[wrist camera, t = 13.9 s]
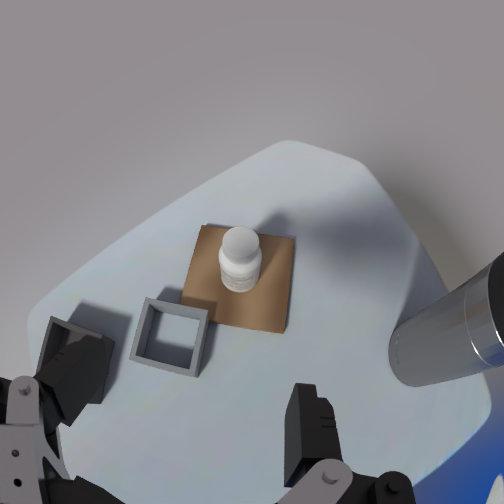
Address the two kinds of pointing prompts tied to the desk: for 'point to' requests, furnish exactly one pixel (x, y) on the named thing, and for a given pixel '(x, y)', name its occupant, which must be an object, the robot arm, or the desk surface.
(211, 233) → the walnut pad
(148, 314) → the sleeve
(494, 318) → the robot arm
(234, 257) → the pill bottle
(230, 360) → the desk surface
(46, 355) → the box
